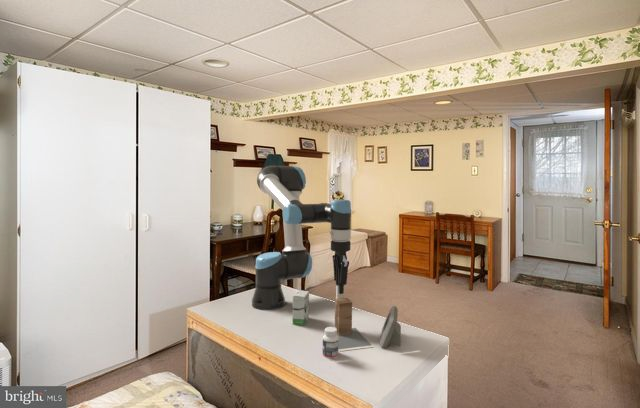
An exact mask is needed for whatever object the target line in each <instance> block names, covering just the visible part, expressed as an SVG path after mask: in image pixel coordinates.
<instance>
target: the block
mask: <svg viewBox="0 0 640 408" xmlns="http://www.w3.org/2000/svg"><path fill="white" fill-rule="evenodd" d="M352 324H353V301H351V300H350V299H349V298H348V297H344V298H342V299H336V298H335V299H334V328H336V329H337V334H338V335H348V334H352V328H353V325H352Z"/></svg>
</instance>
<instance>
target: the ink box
mask: <svg viewBox="0 0 640 408" xmlns="http://www.w3.org/2000/svg"><path fill="white" fill-rule="evenodd" d="M309 312H310V291H309V290H308V291H307V290H301V289H299V290H296V292H295V293H294V294H293V296H292V325H293V326H294V325H295V326H305V325H306V324H307V321H308V320H309V318H310V317H309V316H310V315H309Z"/></svg>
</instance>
